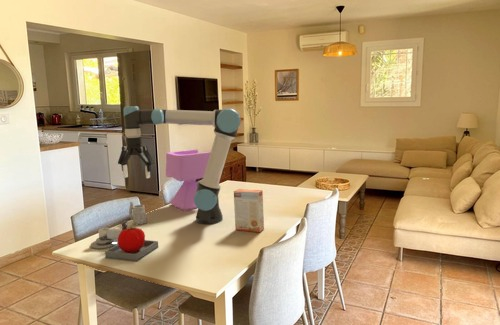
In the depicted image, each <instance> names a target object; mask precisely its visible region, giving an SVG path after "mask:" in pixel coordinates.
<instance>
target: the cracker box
mask: <svg viewBox="0 0 500 325" xmlns="http://www.w3.org/2000/svg"><path fill="white" fill-rule="evenodd" d="M233 205H234V209H233V210H234V223H235V224H234V226H235V230H236V231H241V232H243V231H244V232H252V233H253V232H254V233H261V232H263V230H265V222H264V221H265V218H264V196H263V189H261V190H260V189H248V188H247V189H245V188H238V189H235V190H234V191H233Z"/></svg>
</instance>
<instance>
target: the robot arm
mask: <svg viewBox="0 0 500 325" xmlns="http://www.w3.org/2000/svg"><path fill="white" fill-rule="evenodd" d="M241 122H242V121H241V115H240V114H239V112H238V111H237V110H235V109H234V108H224V109H214V110H213V111H211V110H209V111H208V110H184V109H160V108H154V109H140V108H139V106H136V105H135V106H124V107H123V123H124V132H125V133H124V134H125V144H126V145H124V146H121V152H120V155H119V158H118V161H117V165H121V171H122V173H123V174H122V175H123V178H124V179H125V178H128V177H129V173H128V172H129V170H128V164H127V163H128V161H129V160H130V159H131V157H132V156H138V157H139V158H140V159H141V161H143V163H144V164H145V166H144V170H145V178H146V179H150V178H151V172H152V167H151V166H152V165H153V164H155V162H154V160H153V157H152V156H151V154H150V152H149V149H148V146H147V145H145V146H142V143H143V142H142V137H141V136H142V133H141V126H143V125H144V126H145V125H147V126H149V125H150V126H151V125H162V124H163V125H165V124H169V125H170V124H171V125H191V126H192V125H194V126H213V128H214V129H213V132H214V134H215V136H214V140H213V144H212V145H211V146H212V147H211V149H210V150H211V151H210V152H211V153H210V156H209V160H208V163H207V167H206V170H205V173H204V177H203V178H201V180H200V179H199V180H198V181H196V182H197V190H196V194H195V195H194V203H195V205H196V206H197V207H198V208H197V210H196V211H197V212H196V215H195V222H196V223H197V224H203V225H210V224H216V223H220V222H222V221H223V220H224V219H223V216H224V215H223V213H222V210H221V208H220V201H219V198H220V197H219V194H220V190H221V185H220V180H221V177H222V174H223V170H224V166H225V163H226V159H227V156H228V154H229V151H230V150H229V149H230V147H231V144H232V140H234V139H236V137H237V135H238V131H239V127H240V126H241Z"/></svg>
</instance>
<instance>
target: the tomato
mask: <svg viewBox="0 0 500 325" xmlns="http://www.w3.org/2000/svg"><path fill="white" fill-rule="evenodd" d="M145 240H146V234H145V231H143V230H142V228H138V227H131V226H130V227H127V229H126V230H123V231H121V232H120V234H119V237H118V245H119V247H120V249H121V250H123V251H125V252H128V253H133V252H136V251H138V250H140V249H141V248H142V246H143V245H144V242H145Z"/></svg>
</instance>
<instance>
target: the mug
mask: <svg viewBox="0 0 500 325" xmlns="http://www.w3.org/2000/svg"><path fill="white" fill-rule="evenodd" d="M145 208H146V207H145V205H144V204H136V205H134V203H133V201H129V208H128V210H129V211H128V214H129V215H128V216H129V218H130V220H131V221H132V223H133V225H134V224H142V225H144V224H143V223H145V224H147V220H148V219H147V215H146V209H145Z"/></svg>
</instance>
